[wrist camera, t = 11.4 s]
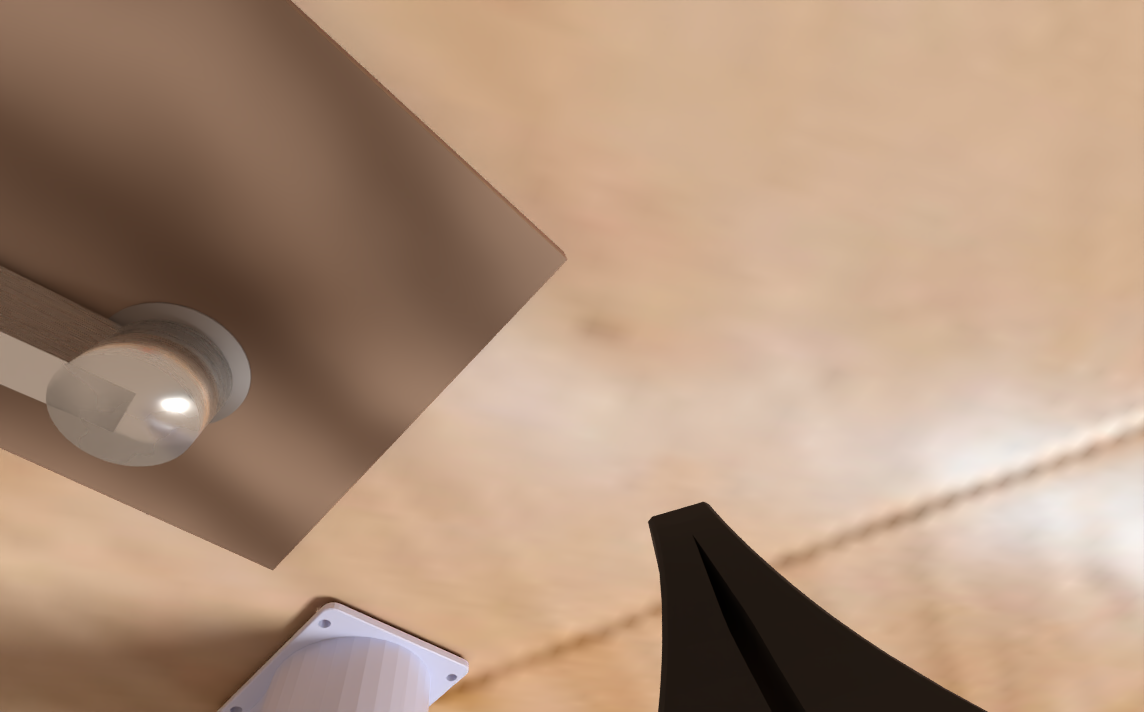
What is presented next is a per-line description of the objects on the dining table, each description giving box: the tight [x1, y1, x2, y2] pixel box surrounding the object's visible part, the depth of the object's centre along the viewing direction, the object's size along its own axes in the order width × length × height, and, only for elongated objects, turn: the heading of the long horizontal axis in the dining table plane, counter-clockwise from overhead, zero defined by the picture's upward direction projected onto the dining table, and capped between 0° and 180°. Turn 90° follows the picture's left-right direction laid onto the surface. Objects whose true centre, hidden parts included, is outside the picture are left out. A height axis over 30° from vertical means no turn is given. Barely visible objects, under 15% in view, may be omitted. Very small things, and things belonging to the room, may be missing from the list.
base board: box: [0, 0, 567, 570], centre depth 16 cm, size 17×16×3 cm
